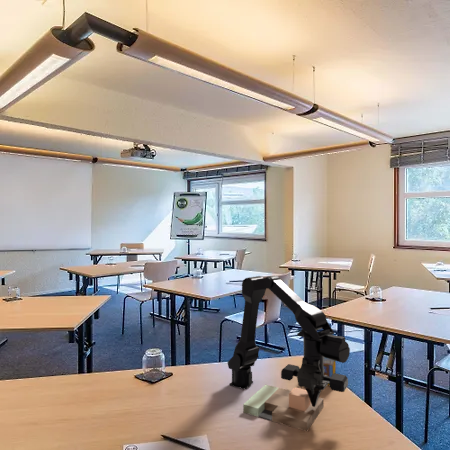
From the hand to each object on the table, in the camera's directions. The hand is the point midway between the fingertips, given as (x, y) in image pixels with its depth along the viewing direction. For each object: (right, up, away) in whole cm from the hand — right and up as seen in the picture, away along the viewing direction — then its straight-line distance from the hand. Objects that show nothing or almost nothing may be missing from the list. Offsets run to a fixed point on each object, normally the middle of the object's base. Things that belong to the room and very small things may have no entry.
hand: (314, 406), depth 107 cm
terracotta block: (-4, -1, +2) cm, 4 cm away
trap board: (-8, -4, +5) cm, 10 cm away
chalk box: (+9, -4, +26) cm, 28 cm away
